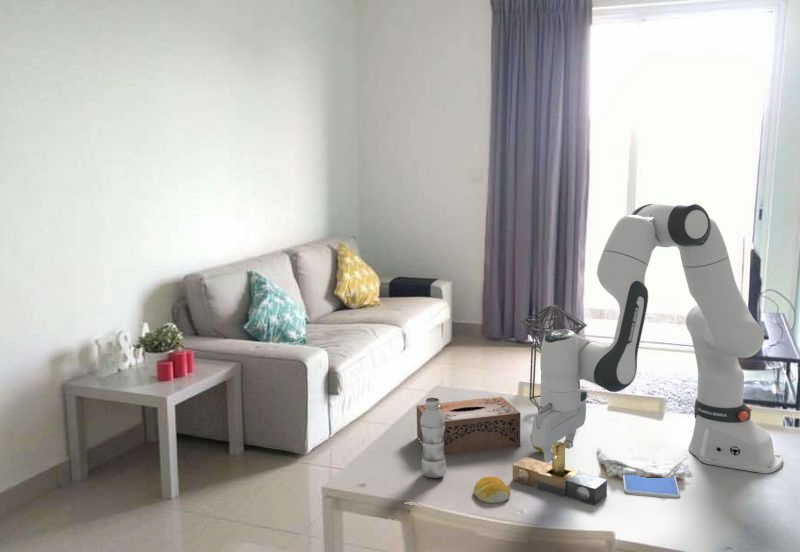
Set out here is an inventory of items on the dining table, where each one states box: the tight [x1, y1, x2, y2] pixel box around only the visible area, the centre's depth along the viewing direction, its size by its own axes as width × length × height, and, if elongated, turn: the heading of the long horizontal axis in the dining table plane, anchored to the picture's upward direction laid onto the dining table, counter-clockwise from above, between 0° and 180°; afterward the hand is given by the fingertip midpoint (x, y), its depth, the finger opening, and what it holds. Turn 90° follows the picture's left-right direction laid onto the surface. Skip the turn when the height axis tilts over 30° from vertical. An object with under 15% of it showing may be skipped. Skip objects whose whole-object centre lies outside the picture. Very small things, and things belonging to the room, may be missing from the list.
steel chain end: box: [537, 471, 608, 506], centre depth 174 cm, size 15×7×4 cm, turn 49°
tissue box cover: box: [416, 396, 521, 456], centre depth 205 cm, size 26×14×10 cm, turn 103°
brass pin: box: [551, 441, 566, 477], centre depth 176 cm, size 3×3×11 cm
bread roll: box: [473, 476, 511, 504], centre depth 174 cm, size 8×9×4 cm
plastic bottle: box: [420, 397, 448, 479], centre depth 184 cm, size 6×7×20 cm
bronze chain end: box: [512, 456, 581, 489], centre depth 179 cm, size 15×7×4 cm, turn 49°
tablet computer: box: [622, 474, 681, 499], centre depth 180 cm, size 19×13×1 cm, turn 165°
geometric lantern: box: [520, 304, 588, 411], centre depth 221 cm, size 16×16×35 cm
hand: (558, 453), depth 175 cm, fingers open, 8 cm apart
